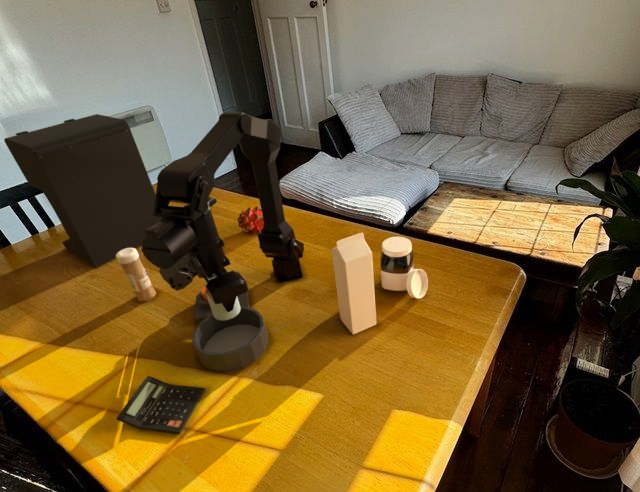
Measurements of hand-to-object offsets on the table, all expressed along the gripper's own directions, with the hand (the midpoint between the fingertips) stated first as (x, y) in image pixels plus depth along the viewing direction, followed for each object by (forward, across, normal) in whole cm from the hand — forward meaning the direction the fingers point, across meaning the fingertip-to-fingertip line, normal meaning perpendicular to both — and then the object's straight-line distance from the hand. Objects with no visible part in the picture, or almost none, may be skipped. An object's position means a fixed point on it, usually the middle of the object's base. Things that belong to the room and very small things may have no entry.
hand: (224, 303), depth 82 cm
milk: (+11, +12, +24) cm, 29 cm away
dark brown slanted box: (+11, -69, -10) cm, 70 cm away
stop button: (+8, -15, 0) cm, 17 cm away
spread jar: (+11, +9, +40) cm, 42 cm away
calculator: (+11, +7, -17) cm, 22 cm away
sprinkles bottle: (+11, -31, -12) cm, 35 cm away
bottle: (+2, 0, 0) cm, 2 cm away
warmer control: (+11, -13, +2) cm, 18 cm away
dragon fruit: (+12, -44, +24) cm, 51 cm away
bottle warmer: (+11, 0, -1) cm, 11 cm away
